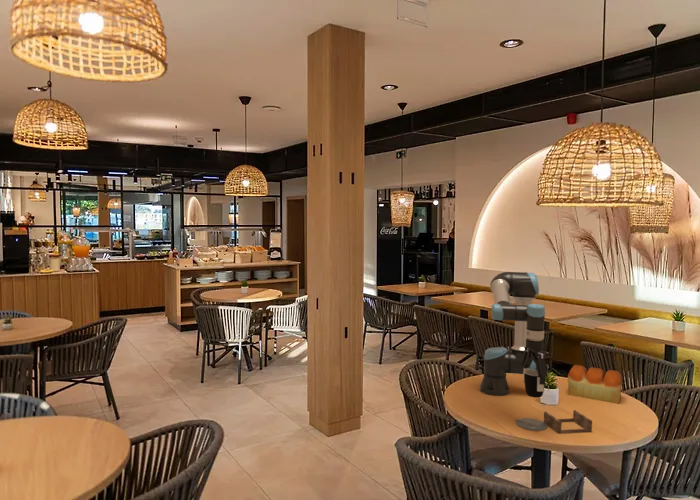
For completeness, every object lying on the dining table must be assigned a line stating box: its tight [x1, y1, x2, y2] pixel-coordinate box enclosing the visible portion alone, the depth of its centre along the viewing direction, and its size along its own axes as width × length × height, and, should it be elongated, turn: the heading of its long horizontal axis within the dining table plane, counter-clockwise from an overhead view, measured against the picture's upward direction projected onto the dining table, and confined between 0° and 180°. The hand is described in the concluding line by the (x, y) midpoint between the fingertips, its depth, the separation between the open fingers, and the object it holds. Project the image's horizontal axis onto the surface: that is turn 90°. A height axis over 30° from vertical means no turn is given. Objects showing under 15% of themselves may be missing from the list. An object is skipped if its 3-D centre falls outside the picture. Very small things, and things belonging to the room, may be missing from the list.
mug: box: [524, 369, 547, 399], centre depth 233 cm, size 12×9×10 cm
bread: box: [567, 364, 623, 405], centre depth 274 cm, size 25×12×15 cm, turn 58°
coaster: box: [515, 417, 548, 432], centre depth 234 cm, size 13×13×1 cm
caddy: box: [543, 409, 593, 434], centre depth 232 cm, size 13×16×5 cm
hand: (533, 386), depth 233 cm, fingers closed on mug, 12 cm apart
